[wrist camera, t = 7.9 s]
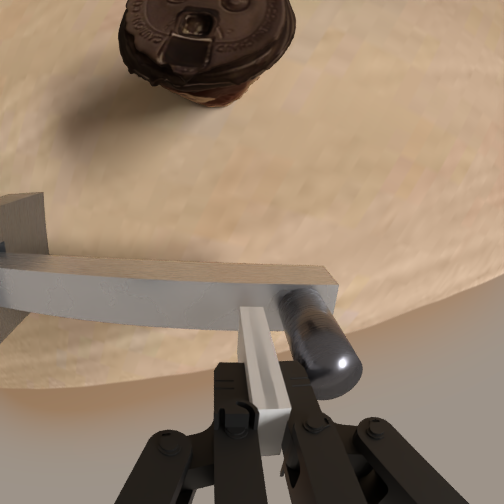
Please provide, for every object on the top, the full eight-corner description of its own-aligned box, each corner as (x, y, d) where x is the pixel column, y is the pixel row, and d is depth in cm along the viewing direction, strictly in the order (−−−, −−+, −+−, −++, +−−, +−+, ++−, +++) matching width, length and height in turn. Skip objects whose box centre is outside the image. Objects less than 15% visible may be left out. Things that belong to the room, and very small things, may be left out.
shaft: (-6, 285, 18) (-71, 339, 9) (-13, 251, 17) (-86, 297, 8) (316, 306, 20) (366, 397, 12) (323, 265, 19) (385, 345, 11)
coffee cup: (199, 142, 23) (170, 130, 11) (143, 71, 21) (76, 13, 9) (285, 83, 22) (338, 24, 10) (226, 15, 20) (228, -77, 7)
